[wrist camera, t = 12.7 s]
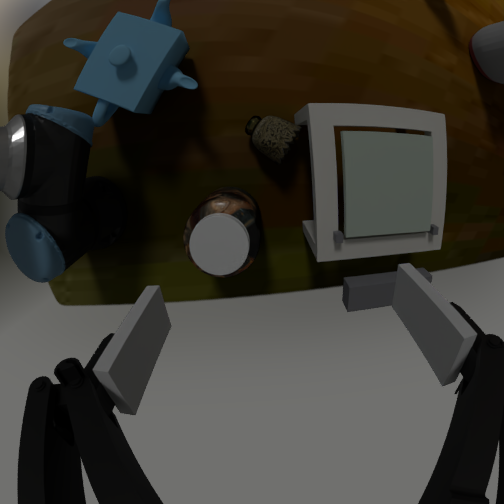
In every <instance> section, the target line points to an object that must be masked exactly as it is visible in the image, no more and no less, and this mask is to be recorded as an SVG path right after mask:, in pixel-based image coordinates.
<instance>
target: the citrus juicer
mask: <svg viewBox="0 0 504 504" xmlns="http://www.w3.org/2000/svg"><path fill="white" fill-rule="evenodd" d="M469 50H470V54H471V57H472V59H473V62H474V64H475V65H476V67H477V69H478V70H479V71H480V72H481V74H482V75H483V76H485V77H486V78H487V79H489V80H491V81H494V82H497V83H501V84H504V21H502V22H499V23H495V24H492V25H489V26H486V27H484V28H482V29H481V30H479V31H478V32H477V33H476V34H474V35H473V37H472V38H471V40H470V42H469Z"/></svg>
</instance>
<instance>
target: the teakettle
mask: <svg viewBox="0 0 504 504" xmlns="http://www.w3.org/2000/svg"><path fill="white" fill-rule="evenodd" d="M169 3H170V0H158V2H157V5H156V7H155V10H154V13H153V15H152V17H151V19H150V20H147V19H144V18H141V17H137V16H133V15H129V14H125V13H121V12H117V14H116V15H115V16H114V18H113V19H112V21H111V22H110V24H109V25H108V27H107V28H106V30H105V31H104V33H103V34H102V36H101V38H100V39H99V41H98V42H91V41H83V40H79V39H75V38H68V39H65V40H64V42H63V43H64V45H65V46H66V47H68V48H71V49H74V50H76V51H78V52H80V53H81V54H83V55H84V56H85V57H86V58H87V59H88V60H87V62H86V64H85V66H84V68H83V70H82V72H81V74H80V76H79V78H78V80H77V83H76V85H75V87H74V90H77V91H80V92H83V93H85V94H88V95H91V96H94V97H96V98H99V100H98V102H97V105H96V107H95V110H94V113H93V116H92V119H93V121H94V126H95V127H100V126H102V125H104V124H105V123H106V122H107V121H108V120H109V119H110V117H111V116H112V115H113V114H114V113H115V111H116V110H117V109H118V108H119V107H122V108H124V109H127V110H129V111H132V112H134V113H144V114H152V112H153V110H154V108H155V106H156V104H157V102H158V101H159V99H160V97H161V95H162V93H163V92H164V90H172V89H174V88H176V87H177V86H181V87H184V88H187V89H195V88H197V87H198V84H197V82H196V81H195V80H194V79H192V78H190V77H188V76H186V75H183V73H182V71H181V70H180V69H178V66H179V65H180V63H181V62H182V60H183V59H184V57H185V56H186V54H187V52H188V51H189V49H190V48H189V46H188V43H187V40H186V38H185V35H184V33H183V31H181V30H178V29H175V28H172V27H171V26H172V20H171V15H170V11H169Z"/></svg>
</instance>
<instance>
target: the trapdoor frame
mask: <svg viewBox="0 0 504 504" xmlns="http://www.w3.org/2000/svg"><path fill="white" fill-rule="evenodd" d="M294 117H295V124H296V125H308V134H309V146H310V158H311V172H312V188H313V208H314V221H313V220H308V221H303V232H304V234H305V236H306V238H307V241H308V243H309V245H310V247H311V249H312V251H313V253H314V256H315V258H316V260H317V262H323V261H333V260H344V259H354V258H364V257H374V256H383V255H393V254H402V253H411V252H420V251H429V250H438V249H441V242H442V235H443V226H444V216H445V204H446V185H447V144H446V125H445V114H440V113H435V112H429V111H422V110H415V109H408V108H400V107H390V106H379V105H365V104H343V103H308V104H307V105H306V106H304V107H303V108H302V109H301V110H299V111H298V112H297V113H296V114H294ZM333 126H355V127H380V128H396V129H408V130H418V131H425V136H433V199H432V215H431V226H430V231H423V232H410V233H397V234H384V235H372V236H359V237H347V238H346V237H345V236H344V235H343V233H342V232H341V231H338V193H337V169H336V152H335V138H334V127H333Z"/></svg>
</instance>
